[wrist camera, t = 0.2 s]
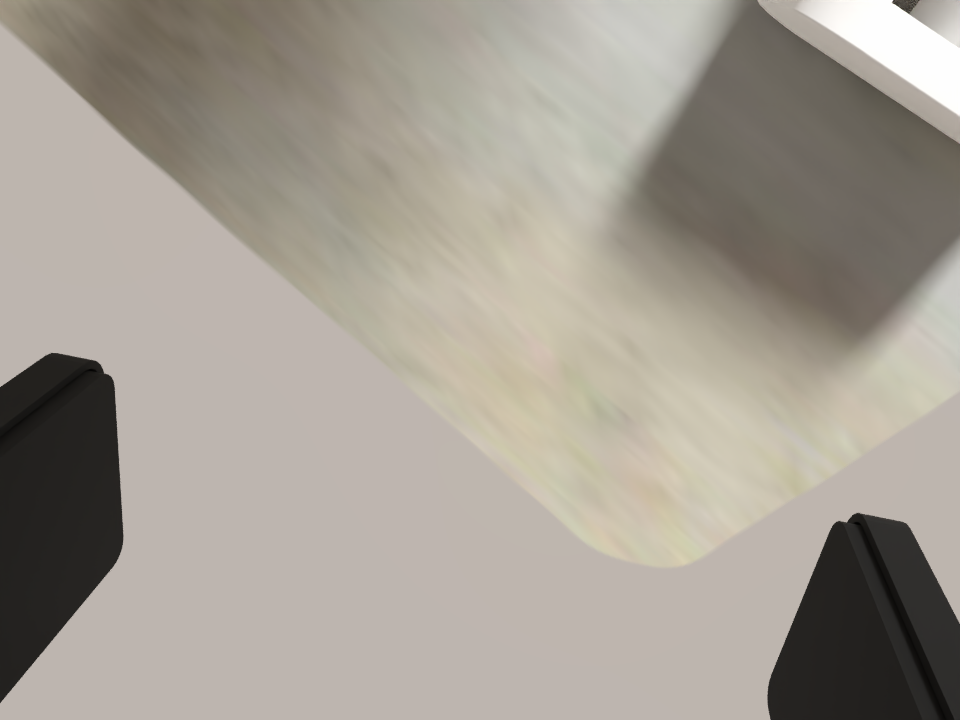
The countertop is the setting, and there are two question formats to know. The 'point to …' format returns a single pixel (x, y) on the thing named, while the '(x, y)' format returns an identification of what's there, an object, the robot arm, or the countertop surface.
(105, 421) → the robot arm
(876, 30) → the cable organizer
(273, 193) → the countertop surface
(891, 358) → the countertop surface
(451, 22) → the countertop surface
